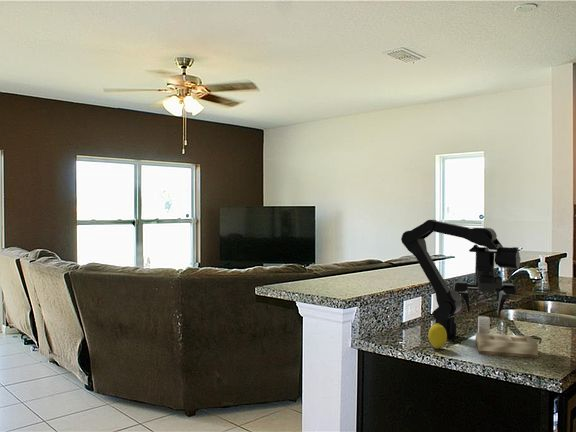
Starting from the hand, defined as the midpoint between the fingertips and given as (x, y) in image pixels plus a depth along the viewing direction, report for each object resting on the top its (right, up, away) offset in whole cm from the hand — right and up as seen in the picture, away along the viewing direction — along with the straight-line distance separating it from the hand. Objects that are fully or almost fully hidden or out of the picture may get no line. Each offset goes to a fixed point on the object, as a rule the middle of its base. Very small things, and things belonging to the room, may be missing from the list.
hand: (483, 313), depth 164 cm
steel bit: (0, -9, 0) cm, 9 cm away
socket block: (+2, -9, -11) cm, 15 cm away
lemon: (-18, -9, -9) cm, 22 cm away
